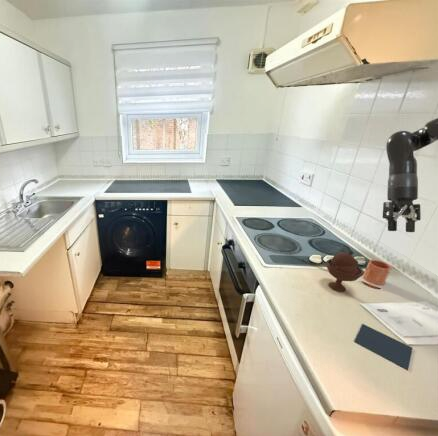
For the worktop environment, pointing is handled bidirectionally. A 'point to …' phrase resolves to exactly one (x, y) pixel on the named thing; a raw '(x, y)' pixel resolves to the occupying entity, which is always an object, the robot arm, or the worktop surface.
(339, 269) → the ice cream bowl
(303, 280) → the worktop surface
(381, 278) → the terracotta cup
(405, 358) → the place mat
